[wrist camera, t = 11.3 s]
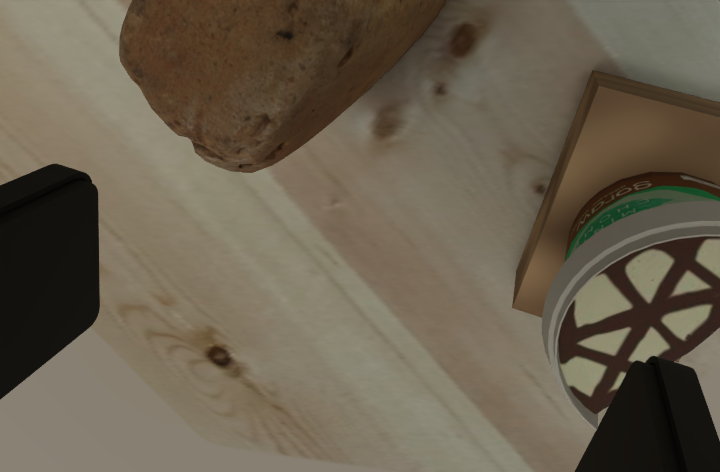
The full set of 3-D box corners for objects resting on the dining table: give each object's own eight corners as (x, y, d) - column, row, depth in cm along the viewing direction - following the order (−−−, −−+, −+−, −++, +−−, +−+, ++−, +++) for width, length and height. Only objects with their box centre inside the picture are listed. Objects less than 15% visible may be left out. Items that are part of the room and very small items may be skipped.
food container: (661, 97, 30) (707, 153, 21) (756, 172, 30) (840, 259, 21) (499, 259, 36) (482, 355, 27) (578, 322, 36) (587, 437, 27)
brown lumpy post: (378, -110, 34) (201, -181, 17) (472, -16, 35) (394, 8, 17) (273, 37, 40) (54, 98, 22) (356, 116, 40) (207, 236, 23)
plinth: (592, 70, 35) (598, 85, 31) (773, 116, 33) (806, 139, 29) (516, 271, 41) (512, 307, 37) (664, 318, 40) (678, 362, 35)
